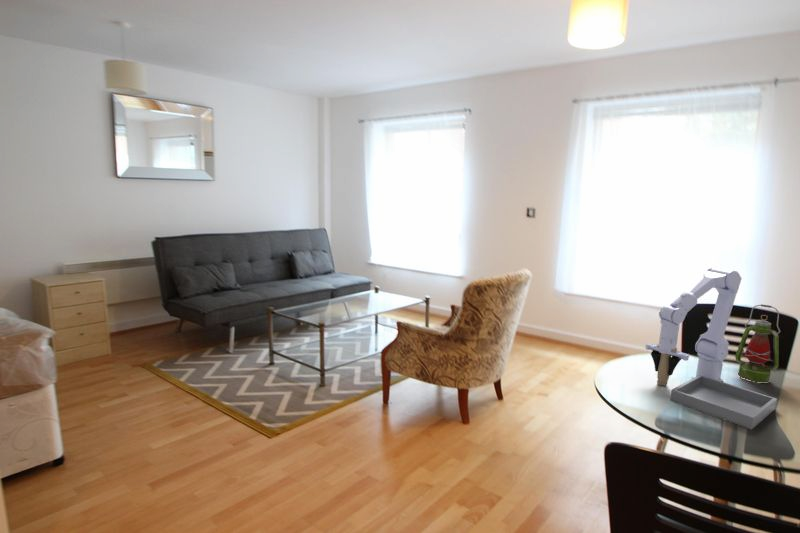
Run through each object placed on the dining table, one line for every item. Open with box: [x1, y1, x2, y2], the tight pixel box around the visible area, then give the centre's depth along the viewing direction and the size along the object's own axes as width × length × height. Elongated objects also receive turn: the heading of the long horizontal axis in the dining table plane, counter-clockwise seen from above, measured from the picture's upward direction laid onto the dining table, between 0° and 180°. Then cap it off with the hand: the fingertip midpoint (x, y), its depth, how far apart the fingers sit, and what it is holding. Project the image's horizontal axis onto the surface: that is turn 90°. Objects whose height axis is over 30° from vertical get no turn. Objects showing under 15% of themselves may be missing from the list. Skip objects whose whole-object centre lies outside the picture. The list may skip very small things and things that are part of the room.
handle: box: [656, 343, 678, 387], centre depth 179 cm, size 5×6×15 cm
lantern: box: [735, 303, 781, 382], centre depth 187 cm, size 14×11×30 cm
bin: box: [669, 375, 778, 430], centre depth 164 cm, size 24×24×4 cm
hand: (663, 372), depth 179 cm, fingers closed on handle, 4 cm apart
